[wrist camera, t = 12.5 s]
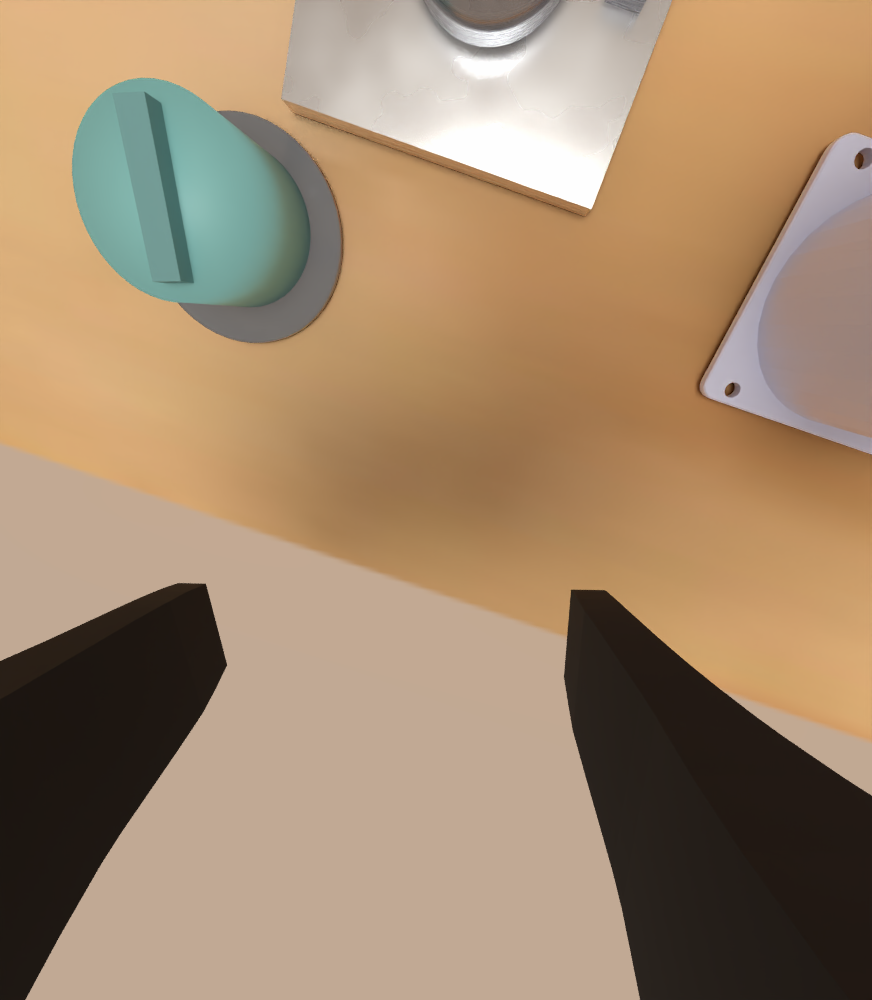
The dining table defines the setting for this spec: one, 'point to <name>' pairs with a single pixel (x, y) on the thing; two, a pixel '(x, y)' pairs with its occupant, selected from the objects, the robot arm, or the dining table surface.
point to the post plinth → (479, 83)
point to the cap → (186, 199)
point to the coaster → (322, 258)
